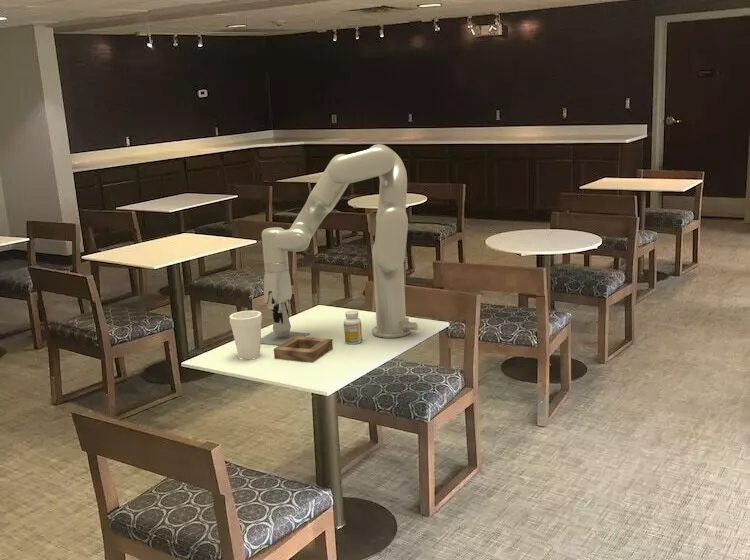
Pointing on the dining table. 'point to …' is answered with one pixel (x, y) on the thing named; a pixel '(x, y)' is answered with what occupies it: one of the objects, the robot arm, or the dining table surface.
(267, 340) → the grey mat
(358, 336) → the supplement bottle
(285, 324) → the salt shaker
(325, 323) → the dining table surface
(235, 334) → the foam cup
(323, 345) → the block
